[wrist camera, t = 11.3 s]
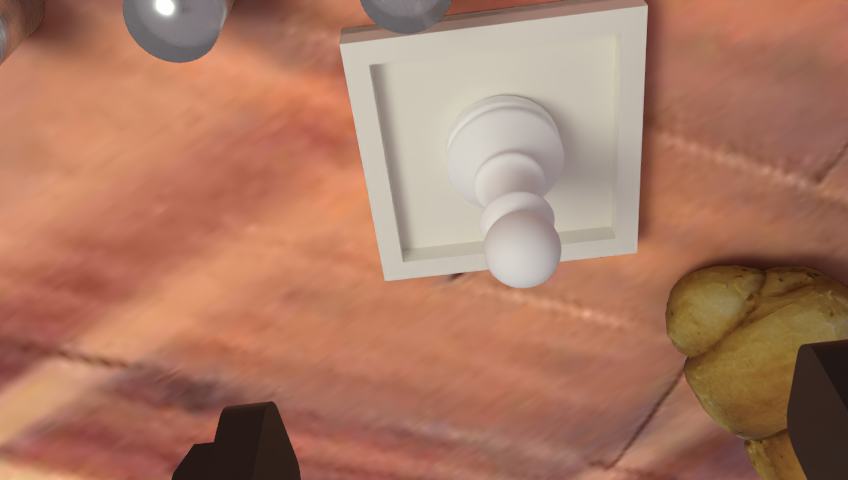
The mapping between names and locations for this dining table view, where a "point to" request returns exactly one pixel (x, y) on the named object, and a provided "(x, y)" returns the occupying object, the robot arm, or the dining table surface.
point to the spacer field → (200, 22)
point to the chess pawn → (509, 184)
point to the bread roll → (753, 348)
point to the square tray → (488, 77)
